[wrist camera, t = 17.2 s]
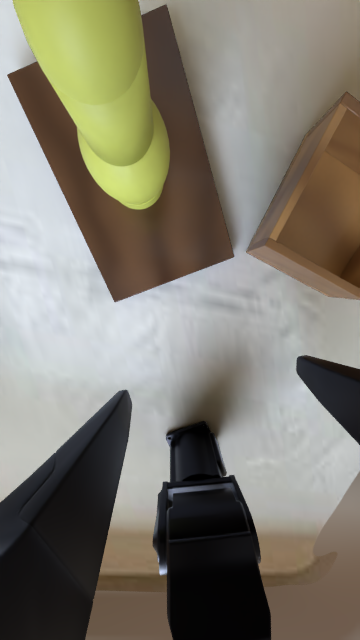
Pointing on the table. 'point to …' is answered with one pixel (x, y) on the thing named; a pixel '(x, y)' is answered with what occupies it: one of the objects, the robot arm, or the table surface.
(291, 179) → the wooden tray
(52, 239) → the table surface
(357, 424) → the robot arm
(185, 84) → the walnut board
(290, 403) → the table surface
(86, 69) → the pear
